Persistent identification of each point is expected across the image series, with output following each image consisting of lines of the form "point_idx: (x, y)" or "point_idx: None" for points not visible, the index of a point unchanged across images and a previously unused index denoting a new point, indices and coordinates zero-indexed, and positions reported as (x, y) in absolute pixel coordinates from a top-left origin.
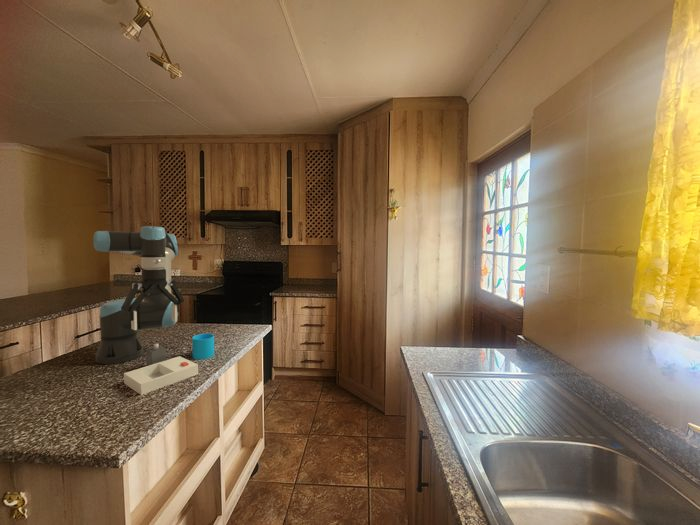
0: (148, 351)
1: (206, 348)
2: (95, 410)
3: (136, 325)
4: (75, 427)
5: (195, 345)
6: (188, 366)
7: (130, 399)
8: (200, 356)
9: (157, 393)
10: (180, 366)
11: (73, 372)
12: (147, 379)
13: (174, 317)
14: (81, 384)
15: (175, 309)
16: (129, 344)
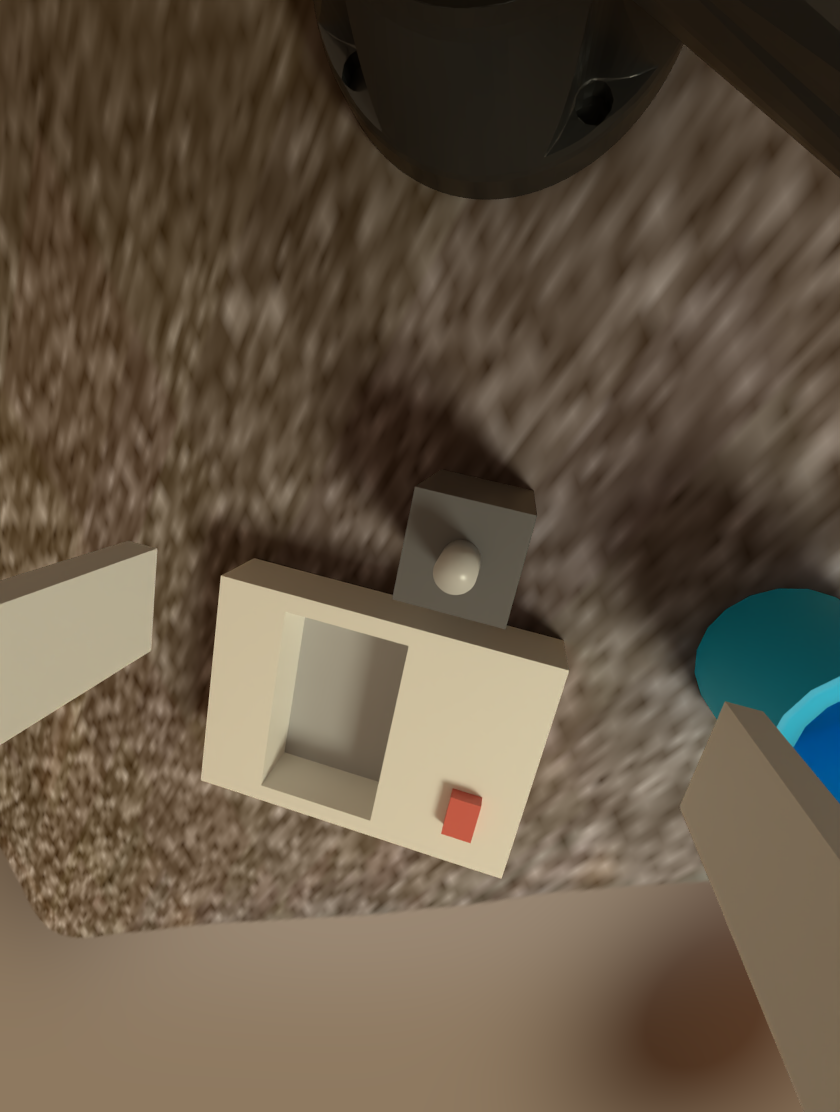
0: (406, 534)
1: None
2: None
3: (97, 677)
4: None
5: None
6: (455, 845)
7: (193, 731)
8: (710, 708)
9: None
10: (436, 803)
11: (169, 47)
12: (244, 765)
13: (712, 848)
14: (134, 343)
15: (802, 1075)
16: (487, 82)
